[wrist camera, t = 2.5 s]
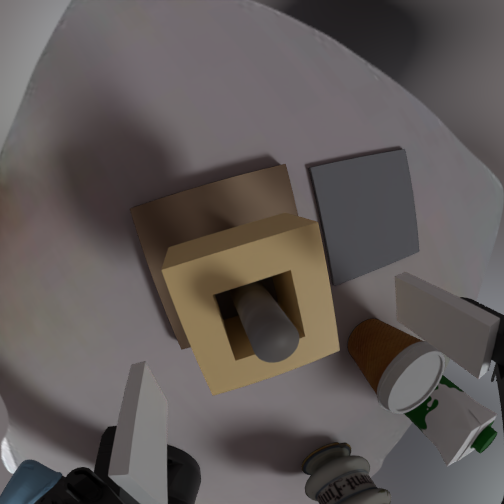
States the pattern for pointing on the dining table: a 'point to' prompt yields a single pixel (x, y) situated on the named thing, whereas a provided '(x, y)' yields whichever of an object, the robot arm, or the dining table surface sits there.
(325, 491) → the apothecary jar
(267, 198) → the stand
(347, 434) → the dining table surface
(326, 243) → the mat
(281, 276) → the collar
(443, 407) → the milk carton
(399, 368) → the disposable coffee cup
